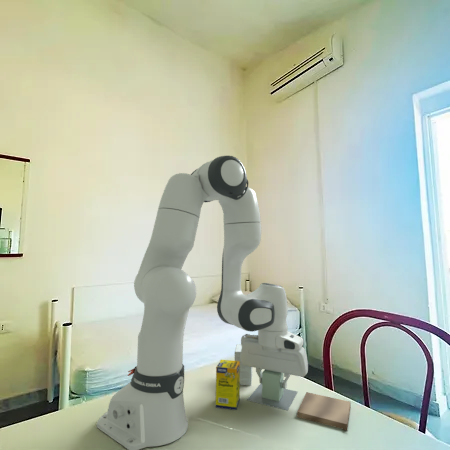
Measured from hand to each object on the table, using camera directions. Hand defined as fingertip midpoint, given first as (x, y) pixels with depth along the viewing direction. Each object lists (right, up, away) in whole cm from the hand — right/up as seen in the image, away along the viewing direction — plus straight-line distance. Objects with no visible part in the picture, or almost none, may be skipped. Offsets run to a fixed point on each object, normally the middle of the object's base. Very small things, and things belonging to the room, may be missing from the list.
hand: (273, 385), depth 88 cm
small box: (-8, -4, +10) cm, 14 cm away
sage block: (0, -3, 0) cm, 3 cm away
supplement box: (-13, -3, -5) cm, 15 cm away
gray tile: (0, -3, 0) cm, 3 cm away
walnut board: (+13, -3, -9) cm, 15 cm away
